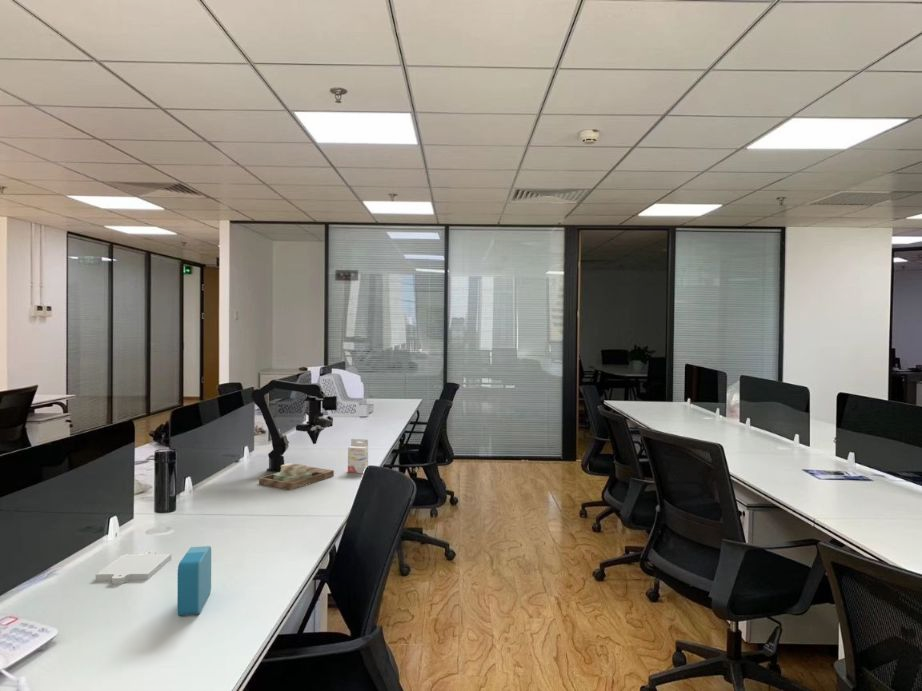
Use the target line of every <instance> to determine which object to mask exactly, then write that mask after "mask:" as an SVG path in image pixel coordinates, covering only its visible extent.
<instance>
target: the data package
mask: <svg viewBox="0 0 922 691" xmlns="http://www.w3.org/2000/svg"><path fill="white" fill-rule="evenodd" d="M211 591H212V547H211V546H210V545H204V546H202V545H201V546H191V547H189V549H188V550H187V552H186V553H185V554H184V556H183V557H182V558H181V560H180V562H178V566H177V598H176V599H177V606H176V607H177V609H176V610H177V616H191V615H194V616H195V615H200V614H201V613H202V611H203V609H204V608H205V605H206V603H207V601H208V599H209V597H210V595H211Z"/></svg>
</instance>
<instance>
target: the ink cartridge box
mask: <svg viewBox="0 0 922 691" xmlns="http://www.w3.org/2000/svg"><path fill="white" fill-rule="evenodd" d="M350 442H351V445H350V446H348V447H347V473H354V474H355V473H356V474H357V473H358V474H364V473H363V471H364V469H365V468H366V466H368V467H369V440H368V439H364V438H363V439H362V438H361V439H360V438H352V439H351V440H350Z"/></svg>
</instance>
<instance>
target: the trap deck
mask: <svg viewBox="0 0 922 691" xmlns="http://www.w3.org/2000/svg"><path fill="white" fill-rule="evenodd" d="M305 466H306V474H304V475H300V476H294V475H288V474H282V473H281V471H278V472H275V473H271V474H267V475H265V476H261V477H259V478H258V484H259V485H263V484H264V486H268V485H269V487H273V486H274V487H275V488H279V489H284V488H285V490H289V489H290V491H291V489H292V490H294V488H295V489H297V488H300V486H301V487H304V486H306V484H307V485H309V483H310V484H313V482H314V483H316V481H317V482H319V480H320V481H323V480H326V479H329V478H331V477H334V476H335V473H334V472H335V470H332V469H327V468H320V467H314V466H307V465H305ZM325 478H326V479H325ZM322 479H323V480H322ZM303 485H304V486H303ZM274 487H273V488H274Z"/></svg>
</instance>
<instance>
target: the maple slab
mask: <svg viewBox="0 0 922 691" xmlns="http://www.w3.org/2000/svg"><path fill="white" fill-rule="evenodd" d="M306 466H307V465H305V464H304V465H303V464H298V463H292V462H291V463H290V462H289V463H284V465H281V471H280V472H281V473H282V474H288V475H294V476H300V475H304V474H306Z"/></svg>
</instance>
